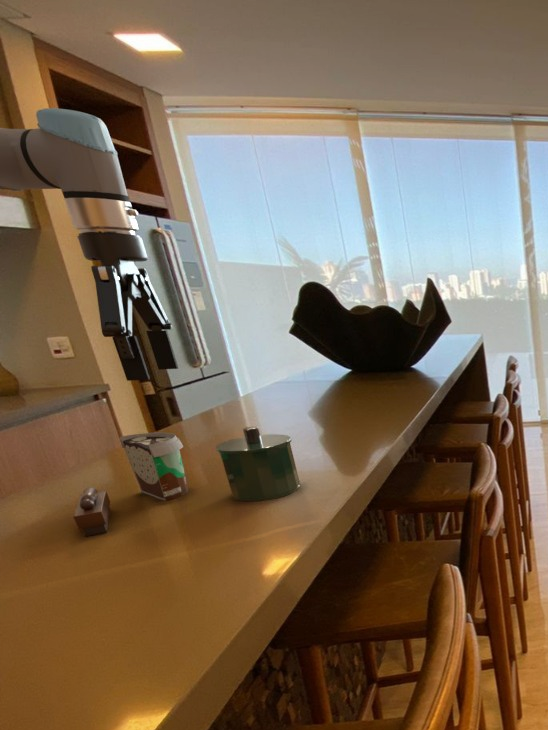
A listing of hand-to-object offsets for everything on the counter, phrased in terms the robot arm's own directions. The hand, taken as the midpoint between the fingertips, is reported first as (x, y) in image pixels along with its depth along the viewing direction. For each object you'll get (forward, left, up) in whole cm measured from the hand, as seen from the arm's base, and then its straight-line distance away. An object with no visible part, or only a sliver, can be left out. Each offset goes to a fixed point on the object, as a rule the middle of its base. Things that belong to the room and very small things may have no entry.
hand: (154, 374), depth 94 cm
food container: (0, -3, -20) cm, 21 cm away
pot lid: (+11, +10, -12) cm, 19 cm away
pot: (+11, +10, -20) cm, 25 cm away
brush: (+11, -12, -20) cm, 26 cm away
